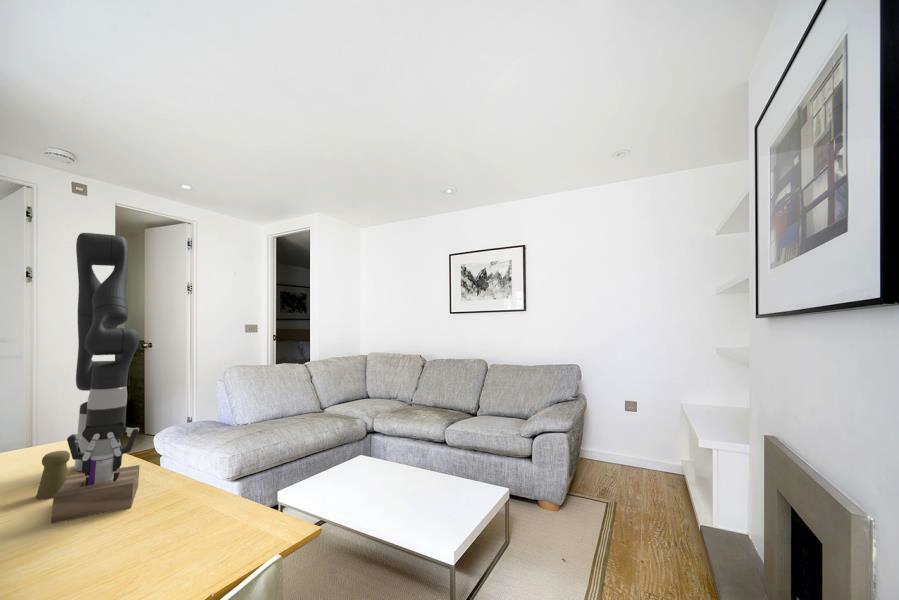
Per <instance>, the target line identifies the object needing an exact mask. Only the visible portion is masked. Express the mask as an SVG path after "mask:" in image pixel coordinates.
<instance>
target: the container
mask: <svg viewBox="0 0 899 600" xmlns="http://www.w3.org/2000/svg"><path fill="white" fill-rule="evenodd" d="M112 441H113V440H112ZM114 457H115V453H114V450H113V449H112V446H111V439H108V438H106V439H98V440H96V441H95V447H94V449H93V451H92V453H91V458H90V469H89V480H88V485H94V484H101V483H107V482H113V476H114V471H113V465H114Z"/></svg>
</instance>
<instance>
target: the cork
mask: <svg viewBox="0 0 899 600" xmlns="http://www.w3.org/2000/svg"><path fill="white" fill-rule="evenodd" d="M70 458H71V452H70V451H67V450H56V451H51V452H49V453H46V454H45V455H44V456H43V457H42V458H41V464H42V466H43V471H42V473H41V478H40V482H39V485H38V489H37V492H36V496H35V498H36V500H40V499H43V500H50V499H53V497H54V495H55V494H56V493H57V492H58V490H59V489H60V488H61V486H62V485H63V484H64V483H65V481H66V480H67V479H68V477H69V475H68V474H69V473H68V464H67V463H68V462H69V460H70Z"/></svg>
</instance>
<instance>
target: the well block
mask: <svg viewBox="0 0 899 600" xmlns="http://www.w3.org/2000/svg"><path fill="white" fill-rule="evenodd" d="M140 467H141V466H140V464H138V465H132V466H124V467H120V468H118V469H117V471H114V476H113V482H107V483H101V484H94V485H88V480H89V475H87V476H85V473H84V474H82V473H80V474H79V473H78V474H72V475H68V479H67V480H66V481H65V483H64V484H63V485H62V486H61V488H60V489H59V490H58V492H57V493H56V494H55V495H54V497H53V498H52V500H53V501H52V509H51V518H50V524H51V523H52V524H56V523H61V521H62V522H66V521H65V520H67V521H72V520H76V519H82V518H87V517H90V516H91V515H92V516H96V515H95V514H97V515H101V513H102V514H106V513H111V512H116V511H120V510H121V511H122V510H126V509H131V508H132V506H133V503H134V500H135V497H136V495H137V491H138V488H139V479H140V478H139V477H140ZM92 516H91V517H92Z"/></svg>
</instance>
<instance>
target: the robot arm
mask: <svg viewBox="0 0 899 600" xmlns="http://www.w3.org/2000/svg"><path fill="white" fill-rule="evenodd" d="M75 243H76V244H75V252H76V265H77V266H76V267H77V278H78V279H77V280H78V296H77V335H78V337H77V338H78V347H77V349H78V350H77V359H76V372H75V384H76V388H77V389H78V390H79V391H83V392H84V391H85V392H86V391H87V392H88V391H89V393H88V397H87V401H85V402H83V403H81V404H80V406H79V414H78V424H77V433H72V434H70V435H69V436H68V437H67V438H66V441H67V445H68V448H69V453H70V456H71V458H72V460H73V461H74V467H73V470H74V471H75V472H81V474H84V473H85V476H87V475H89V469H90V458H91V453H92V451H93V449H94V447H95V441H96V440H98V439H106V438H108V439H111V446H112V449H113V450H114V453H115V457H114V465H113V471H117V469H118V468H121V466H122V464H123V463H122V461H123V455H125V454H128V453H130V452H131V450H132V449H133V448H132V447H133V445H134V443H135V441H136V438H137V437H138V433H139V431H140V427H128V426H127V425H126V416H127V415H126V414H127V404H128V390H127V389H128V388H127V386H128V377H129V369H130V366H131V363H132V360H133V357H134V355H135V353H136V351H137V349H138V347H139V344H140V335H139V332H138V331H137V330H135V329H134V328H130V327H121V328H120V327H118V326H121V325H123V324H125V323H126V322H127V321H128V318H129V313H128V312H129V311H128V302H127V301H128V300H127V283H128V275H129V244H128V241H127V240H126V237H123V236H121V235H116V234H105V233H93V232H81V233H79V234H78V236H77V238H76V242H75ZM93 266H104V267H107V266H108V267H109V266H111V267H113V269H112V272H111V273H110V274H109V275H108V277H106V278H105V280H104V281H103V282H100V280H99V279H98V277H97V276H96V273H95V271H94V270H93ZM113 355H118V357H117V358H116V359H115V360H97V361H95V360H93V356H113ZM125 433H127V434H126V435H127V437H128V438H129V439H128V442H127V443H126V446H125V447H122V444H121V440H120V438H121V437H122V436H123V435H124V434H125ZM112 440H113V441H112Z"/></svg>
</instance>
